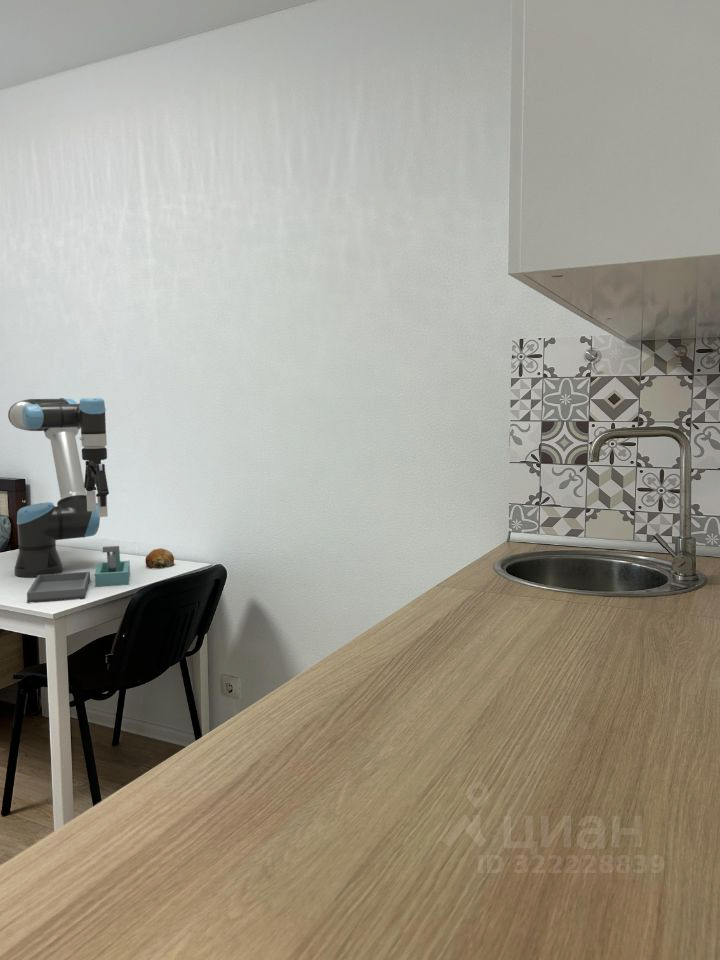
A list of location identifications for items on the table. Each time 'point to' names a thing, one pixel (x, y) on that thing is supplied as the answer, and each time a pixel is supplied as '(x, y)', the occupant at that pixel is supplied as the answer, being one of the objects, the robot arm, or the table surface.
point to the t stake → (111, 557)
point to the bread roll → (159, 558)
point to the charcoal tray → (59, 587)
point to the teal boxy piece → (112, 573)
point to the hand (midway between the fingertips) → (97, 513)
